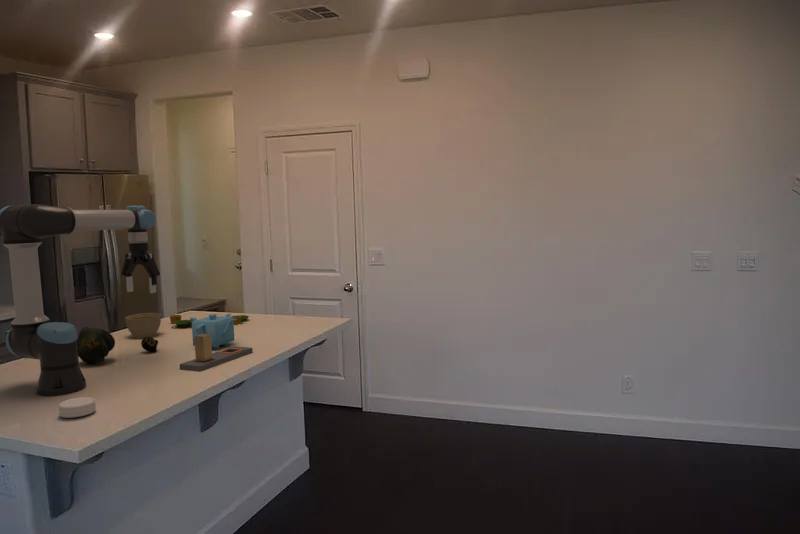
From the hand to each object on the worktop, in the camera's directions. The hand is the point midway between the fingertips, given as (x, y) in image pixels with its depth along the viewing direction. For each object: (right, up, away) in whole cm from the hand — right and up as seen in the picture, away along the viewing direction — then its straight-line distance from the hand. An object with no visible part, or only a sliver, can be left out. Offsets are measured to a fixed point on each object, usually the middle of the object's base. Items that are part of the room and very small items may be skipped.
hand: (141, 292), depth 258 cm
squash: (-14, -29, -11) cm, 33 cm away
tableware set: (+6, -21, +69) cm, 72 cm away
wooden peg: (+33, -28, -19) cm, 47 cm away
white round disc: (+12, -34, -73) cm, 81 cm away
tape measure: (+2, -27, +7) cm, 27 cm away
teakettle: (+27, -25, +15) cm, 40 cm away
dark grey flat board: (+36, -27, -12) cm, 47 cm away
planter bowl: (-15, -24, +39) cm, 48 cm away
